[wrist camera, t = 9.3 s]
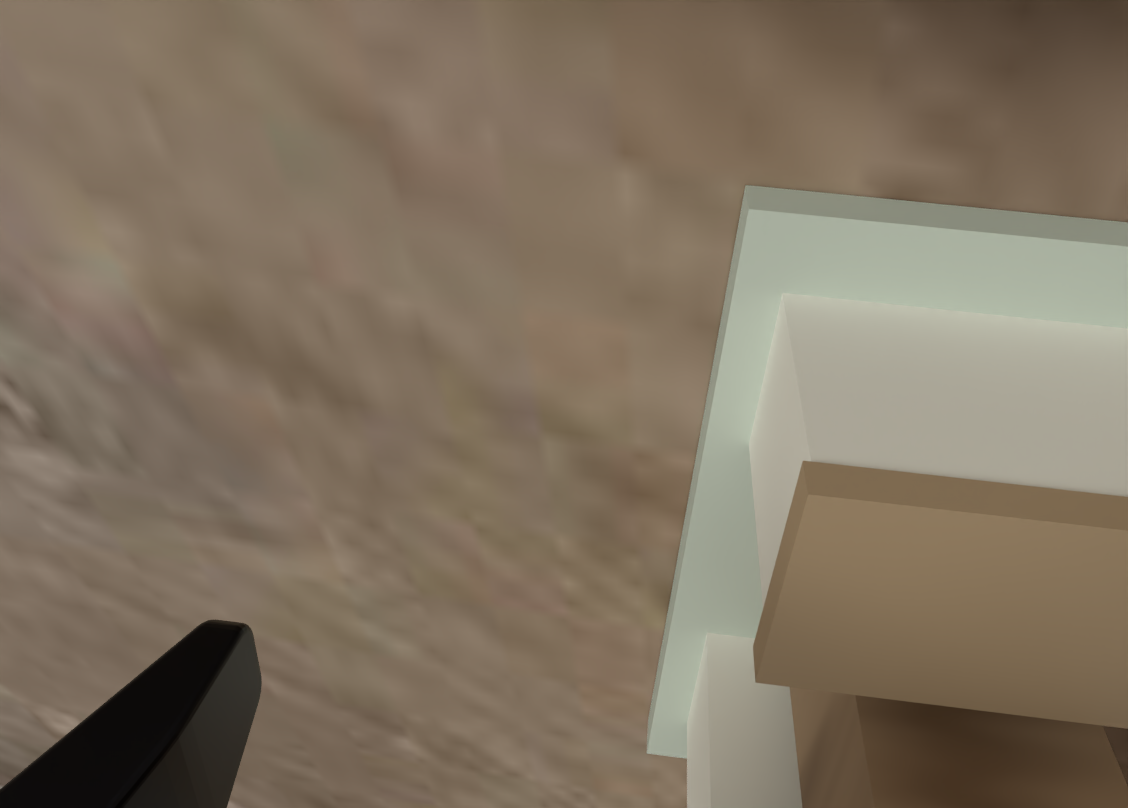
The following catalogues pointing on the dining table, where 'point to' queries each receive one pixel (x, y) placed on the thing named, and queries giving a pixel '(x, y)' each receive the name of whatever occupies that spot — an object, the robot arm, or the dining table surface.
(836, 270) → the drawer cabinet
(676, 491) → the dining table surface
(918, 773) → the peg
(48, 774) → the robot arm
